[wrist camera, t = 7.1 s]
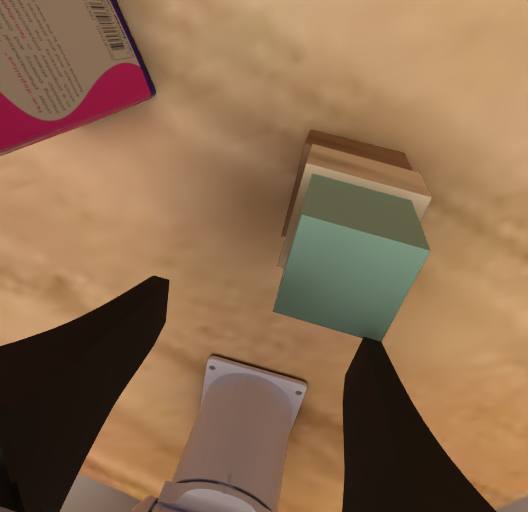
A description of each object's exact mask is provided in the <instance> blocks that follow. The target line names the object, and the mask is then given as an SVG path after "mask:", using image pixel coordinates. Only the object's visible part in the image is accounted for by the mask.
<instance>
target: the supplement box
mask: <svg viewBox="0 0 528 512" xmlns="http://www.w3.org/2000/svg"><path fill="white" fill-rule="evenodd" d="M154 95H155V90H154V87H153V85H152V82H151V80H150V78H149V76H148V73H147V71H146V69H145V66H144V64H143V62H142V60H141V58H140V55H139V53H138V51H137V48H136V47H135V44H134V42H133V40H132V38H131V35H130V33H129V31H128V29H127V26H126V24H125V22H124V20H123V17H122V15H121V13H120V11H119V9H118V6H117V4H116V2H115V0H0V156H2V155H5V154H7V153H10V152H13V151H15V150H18V149H21V148H24V147H26V146H29V145H32V144H34V143H37V142H40V141H43V140H45V139H48V138H51V137H53V136H56V135H59V134H61V133H64V132H67V131H70V130H72V129H75V128H78V127H80V126H83V125H86V124H88V123H91V122H93V121H96V120H98V119H101V118H103V117H106V116H108V115H111V114H113V113H116V112H118V111H121V110H123V109H126V108H128V107H130V106H133V105H135V104H138V103H140V102H142V101H145V100H147V99H149V98H151V97H153V96H154Z"/></svg>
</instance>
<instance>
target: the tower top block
mask: <svg viewBox="0 0 528 512" xmlns="http://www.w3.org/2000/svg"><path fill="white" fill-rule="evenodd" d="M312 173H313V174H317V175H321V176H324V177H328V178H332V179H335V180H339V181H342V182H346V183H350V184H353V185H357V186H361V187H364V188H368V189H372V190H375V191H379V192H382V193H386V194H390V195H393V196H397V197H401V198H404V199H408V200H411V201H412V203H413V206H414V209H415V211H416V214H417V217H418V219H419V222H420V221H421V219H422V217H423V215H424V213H425V211H426V209H427V207H428V205H429V203H430V201H431V199H432V197H431V195H430V193H429V191H428V189H427V187H426V185H425V183H424V181H423V179H422V177H421V175H420V173H419V172H415V171H411V170H407V169H404V168H400V167H396V166H393V165H389V164H385V163H382V162H378V161H374V160H371V159H367V158H363V157H359V156H356V155H352V154H348V153H345V152H341V151H337V150H334V149H330V148H326V147H323V146H319V145H315V144H312V147H311V150H310V153H309V156H308V159H307V163H306V166H305V170H304V173H303V177H302V180H301V184H300V187H299V191H298V194H297V198H296V202H295V205H294V209H293V212H292V216H291V219H290V223H289V226H288V230H287V233H286V237H285V240H284V244H283V247H282V251H281V255H280V258H279V262H278V265H277V266H279V267H282V268H285V264H286V261H287V257H288V253H289V250H290V247H291V243H292V240H293V237H294V233H295V230H296V226H297V223H298V220H299V216H300V213H301V210H302V206H303V203H304V199H305V196H306V193H307V189H308V186H309V183H310V179H311V176H312Z"/></svg>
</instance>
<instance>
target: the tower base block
mask: <svg viewBox="0 0 528 512" xmlns="http://www.w3.org/2000/svg"><path fill="white" fill-rule="evenodd" d="M312 144H315V145H319V146H323V147H326V148H330V149H334V150H337V151H341V152H345V153H348V154H352V155H356V156H359V157H363V158H367V159H371V160H374V161H378V162H382V163H385V164H389V165H393V166H396V167H400V168H404V169H407V170H411V171H412V169H411V166H410V164H409V162H408V160H407V158H406V156H405V153H402V152H398V151H394V150H390V149H386V148H382V147H378V146H374V145H370V144H366V143H362V142H358V141H354V140H350V139H346V138H342V137H338V136H334V135H330V134H326V133H322V132H318V131H314V130H310V132H309V135H308V137H307V140H306V142H305V146H304V150H303V154H302V158H301V162H300V165H299V169H298V173H297V177H296V181H295V185H294V189H293V193H292V197H291V201H290V205H289V209H288V212H287V216H286V220H285V224H284V228H283V232H282V236H283V237H286V233H287V230H288V226H289V223H290V219H291V216H292V212H293V209H294V205H295V202H296V198H297V194H298V191H299V187H300V184H301V180H302V177H303V173H304V170H305V166H306V163H307V159H308V156H309V153H310V150H311V147H312Z"/></svg>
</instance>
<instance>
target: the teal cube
mask: <svg viewBox="0 0 528 512" xmlns="http://www.w3.org/2000/svg"><path fill="white" fill-rule="evenodd" d="M429 252H430V248H429V246H428V243H427V240H426V238H425V235H424V232H423V230H422V227H421V225H420V222H419V219H418V217H417V214H416V211H415V209H414V206H413V203H412V201H411V200H408V199H404V198H401V197H397V196H393V195H390V194H386V193H382V192H379V191H375V190H372V189H368V188H364V187H361V186H357V185H353V184H350V183H346V182H342V181H339V180H335V179H332V178H328V177H324V176H321V175H317V174H313V173H312V176H311V179H310V183H309V186H308V189H307V193H306V196H305V199H304V203H303V206H302V210H301V213H300V216H299V220H298V223H297V226H296V230H295V233H294V237H293V240H292V243H291V247H290V250H289V253H288V257H287V261H286V264H285V268H284V272H283V276H282V279H281V283H280V287H279V290H278V294H277V298H276V302H275V305H274V309H273V312H276V313H279V314H283V315H286V316H290V317H293V318H296V319H300V320H303V321H306V322H310V323H313V324H317V325H320V326H323V327H327V328H330V329H333V330H337V331H340V332H344V333H347V334H350V335H354V336H357V337H360V338H364V337H367V338H370V339H374V340H377V341H381V342H382V340H383V338H384V336H385V334H386V332H387V330H388V329H389V327H390V325H391V323H392V321H393V319H394V317H395V316H396V314H397V312H398V310H399V308H400V306H401V304H402V303H403V301H404V299H405V297H406V295H407V293H408V291H409V290H410V288H411V286H412V284H413V282H414V280H415V278H416V277H417V275H418V273H419V271H420V269H421V267H422V265H423V264H424V262H425V260H426V258H427V256H428V254H429Z"/></svg>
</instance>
